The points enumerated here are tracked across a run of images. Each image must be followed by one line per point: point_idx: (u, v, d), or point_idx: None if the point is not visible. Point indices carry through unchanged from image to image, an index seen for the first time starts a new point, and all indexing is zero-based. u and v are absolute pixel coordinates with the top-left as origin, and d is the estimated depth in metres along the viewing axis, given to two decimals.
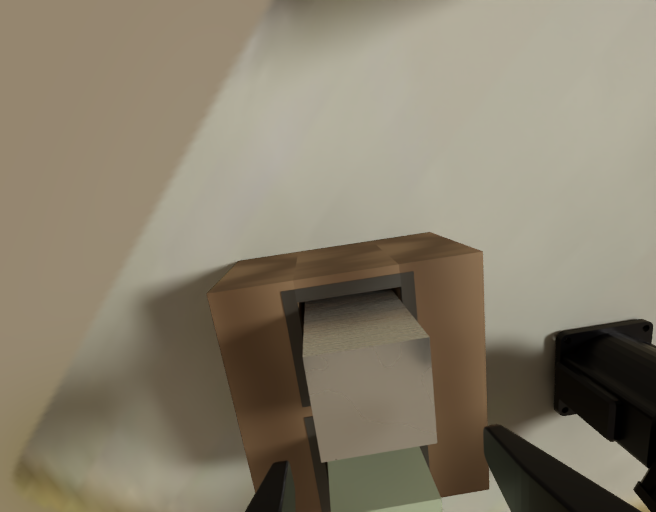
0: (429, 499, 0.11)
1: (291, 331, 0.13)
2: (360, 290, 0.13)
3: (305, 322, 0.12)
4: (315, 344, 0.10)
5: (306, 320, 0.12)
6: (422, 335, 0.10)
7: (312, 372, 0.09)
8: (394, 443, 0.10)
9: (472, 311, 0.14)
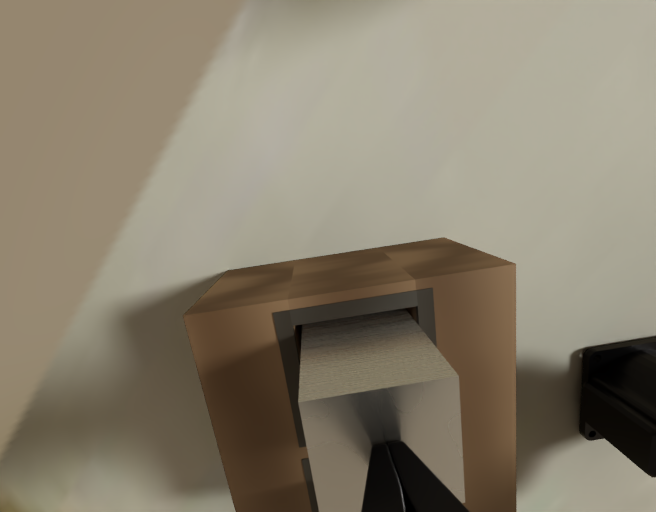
0: None
1: (286, 359, 0.11)
2: (368, 310, 0.11)
3: (302, 349, 0.10)
4: (314, 382, 0.08)
5: (303, 346, 0.10)
6: (449, 372, 0.08)
7: (311, 420, 0.08)
8: None
9: (502, 334, 0.12)
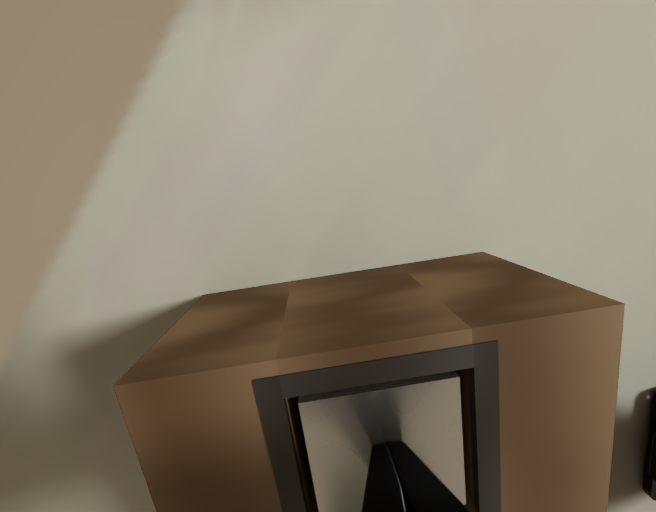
0: None
1: (274, 446, 0.07)
2: (400, 375, 0.07)
3: None
4: None
5: None
6: (449, 373, 0.08)
7: (311, 422, 0.07)
8: None
9: (595, 405, 0.08)
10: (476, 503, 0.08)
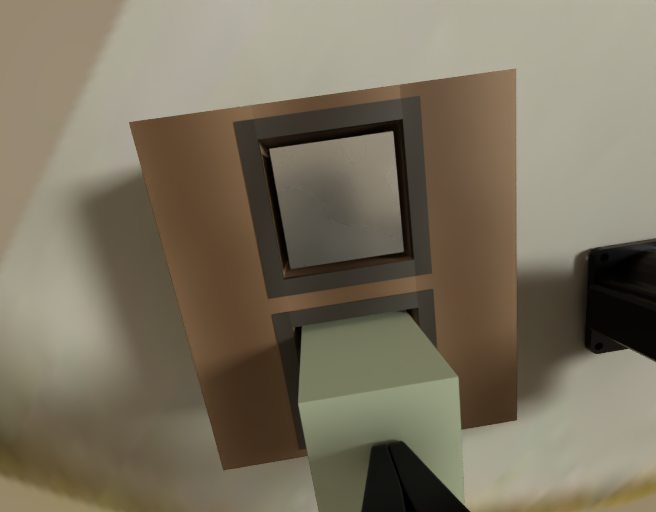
0: (441, 379, 0.08)
1: (251, 184, 0.10)
2: (346, 123, 0.09)
3: None
4: None
5: None
6: None
7: (280, 166, 0.10)
8: (361, 250, 0.11)
9: (500, 160, 0.10)
10: (412, 252, 0.11)
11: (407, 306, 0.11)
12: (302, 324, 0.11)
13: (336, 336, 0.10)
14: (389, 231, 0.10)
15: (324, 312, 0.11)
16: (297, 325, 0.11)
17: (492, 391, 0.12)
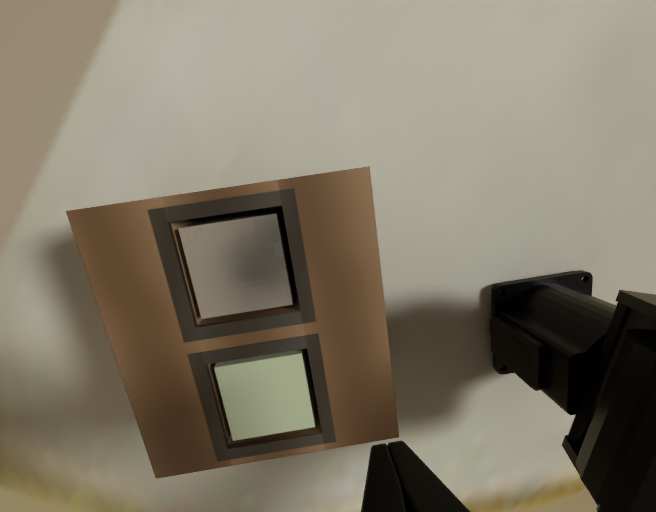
0: (293, 355, 0.14)
1: (164, 255, 0.12)
2: (237, 209, 0.12)
3: (201, 221, 0.15)
4: (194, 224, 0.13)
5: (202, 221, 0.15)
6: (272, 214, 0.13)
7: (187, 241, 0.12)
8: (258, 303, 0.13)
9: (363, 235, 0.13)
10: (299, 304, 0.13)
11: (298, 347, 0.14)
12: (213, 362, 0.13)
13: None
14: (279, 289, 0.13)
15: (230, 352, 0.13)
16: (209, 363, 0.13)
17: (375, 414, 0.15)
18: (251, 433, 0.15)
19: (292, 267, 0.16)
